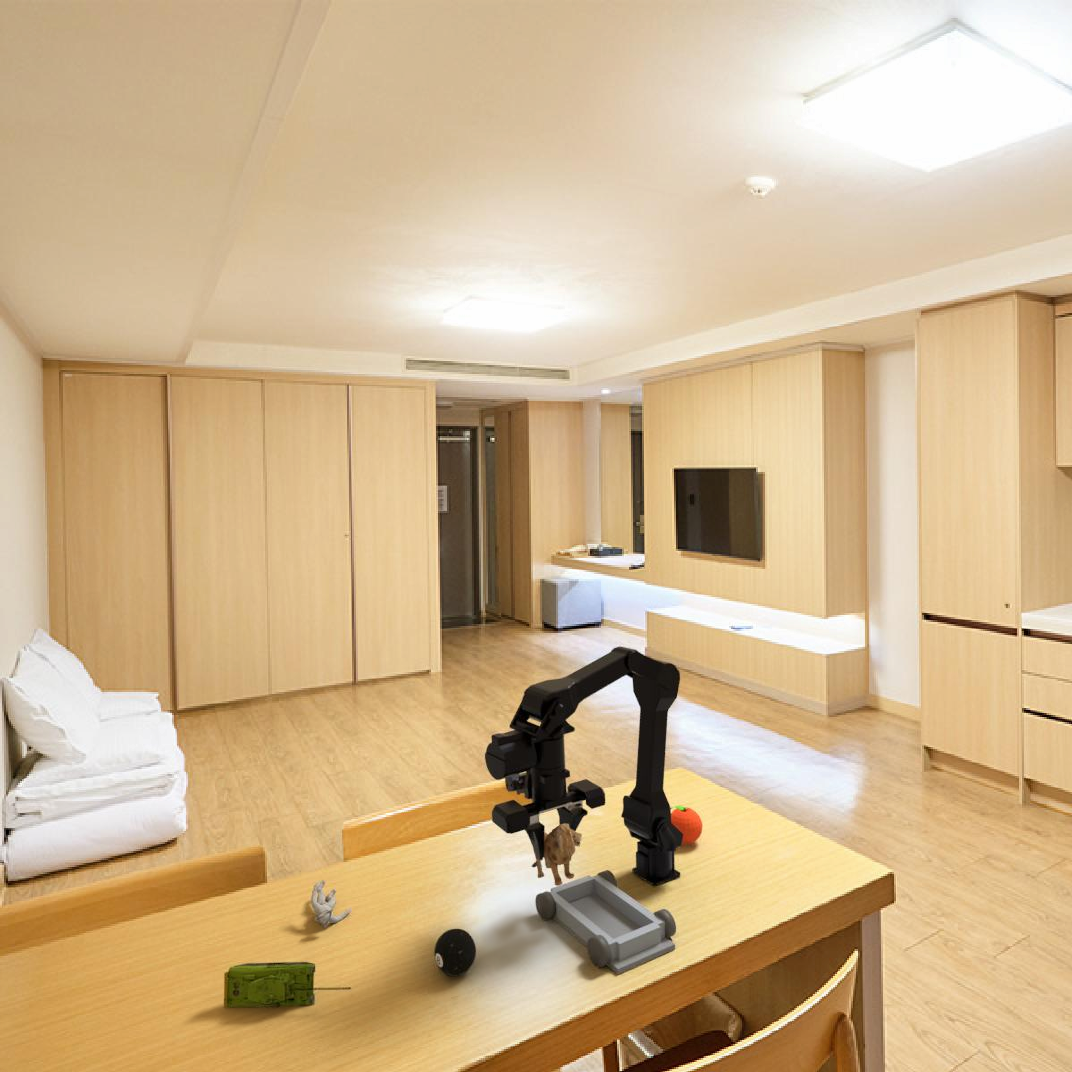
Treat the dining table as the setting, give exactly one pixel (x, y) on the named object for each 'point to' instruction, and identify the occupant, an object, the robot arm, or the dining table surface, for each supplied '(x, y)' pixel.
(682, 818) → the clementine
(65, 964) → the dining table surface
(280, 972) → the toy tank
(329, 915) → the grey irregular piece
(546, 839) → the lion figurine
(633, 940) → the chassis
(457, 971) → the billiard ball
